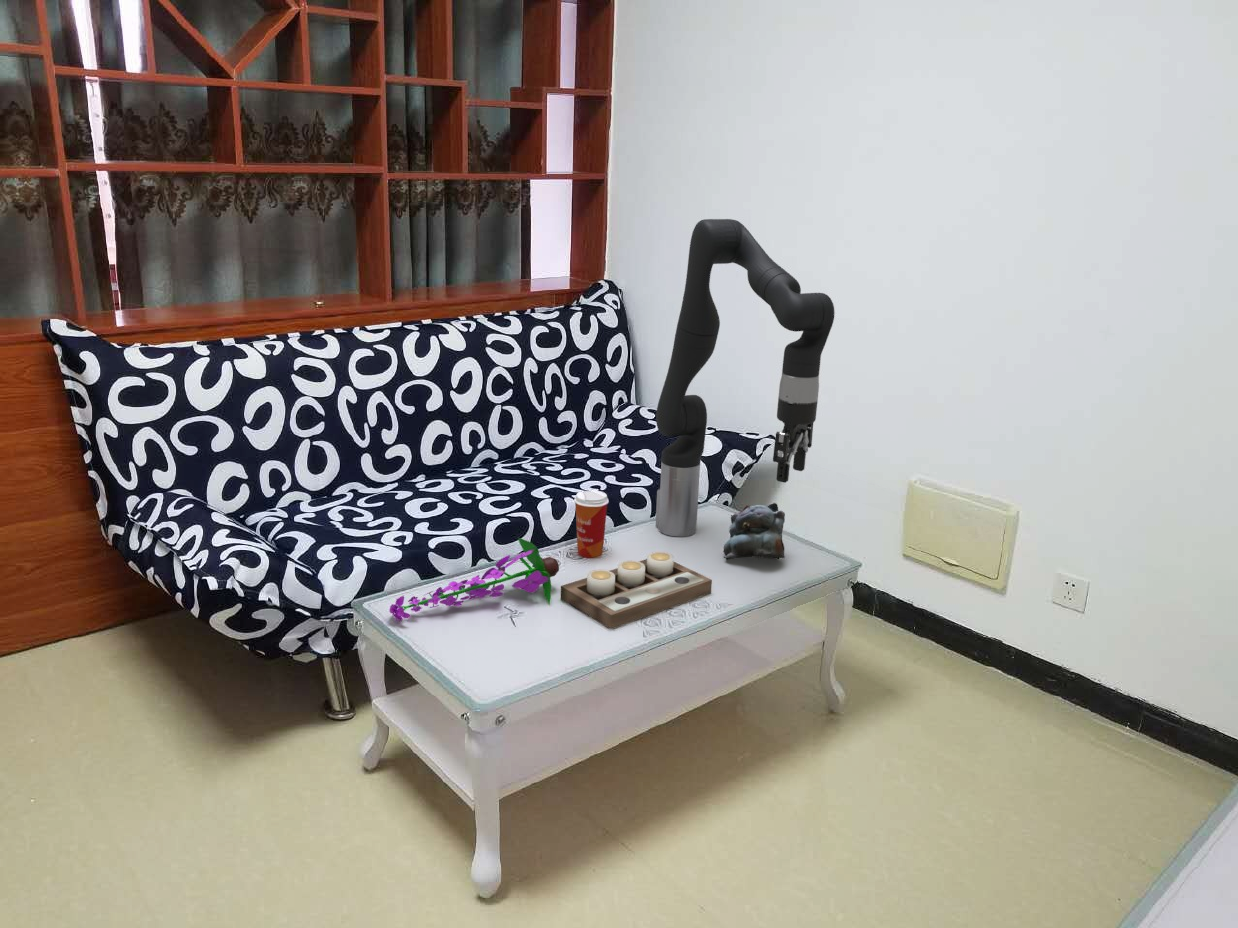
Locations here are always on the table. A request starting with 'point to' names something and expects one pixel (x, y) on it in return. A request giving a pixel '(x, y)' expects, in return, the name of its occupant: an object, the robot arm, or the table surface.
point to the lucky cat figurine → (756, 533)
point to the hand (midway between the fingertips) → (790, 475)
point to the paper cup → (590, 522)
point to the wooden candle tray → (637, 596)
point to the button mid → (631, 572)
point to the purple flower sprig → (479, 587)
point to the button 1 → (600, 582)
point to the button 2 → (660, 563)
